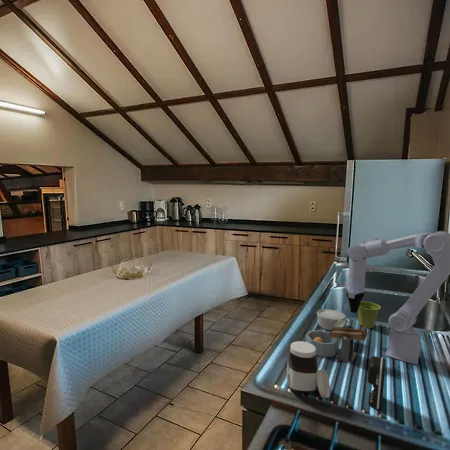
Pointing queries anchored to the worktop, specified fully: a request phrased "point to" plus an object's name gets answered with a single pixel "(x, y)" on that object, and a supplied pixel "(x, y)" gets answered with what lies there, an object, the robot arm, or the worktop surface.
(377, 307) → the plant pot
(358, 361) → the worktop surface
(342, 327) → the lever
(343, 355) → the fulcrum
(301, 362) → the spread jar
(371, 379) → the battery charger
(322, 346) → the bowl
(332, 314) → the ramekin
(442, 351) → the worktop surface
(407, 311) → the robot arm
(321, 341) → the ball
